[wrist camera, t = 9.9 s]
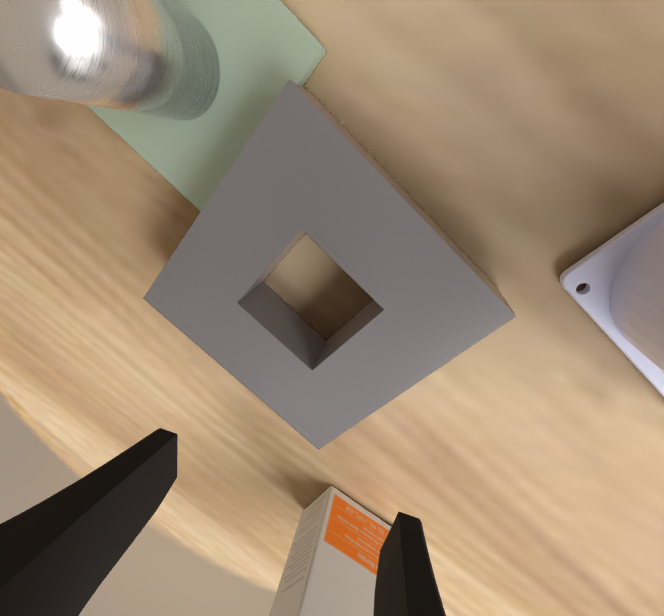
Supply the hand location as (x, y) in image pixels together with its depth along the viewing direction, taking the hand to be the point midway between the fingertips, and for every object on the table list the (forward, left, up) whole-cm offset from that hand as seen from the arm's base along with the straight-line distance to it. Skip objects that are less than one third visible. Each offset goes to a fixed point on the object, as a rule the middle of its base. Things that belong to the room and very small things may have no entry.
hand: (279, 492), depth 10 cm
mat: (+14, -5, -9) cm, 18 cm away
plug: (+14, -5, -9) cm, 17 cm away
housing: (+3, -2, -9) cm, 10 cm away
